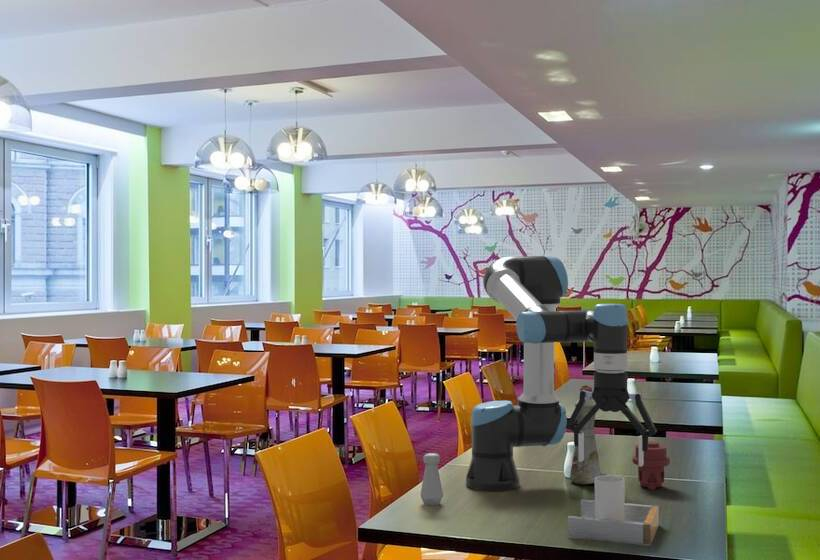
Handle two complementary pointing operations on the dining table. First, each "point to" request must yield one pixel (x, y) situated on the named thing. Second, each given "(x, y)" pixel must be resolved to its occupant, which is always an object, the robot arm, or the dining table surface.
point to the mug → (609, 497)
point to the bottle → (586, 448)
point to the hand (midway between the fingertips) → (610, 462)
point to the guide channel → (616, 525)
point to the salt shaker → (431, 481)
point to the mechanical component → (652, 465)
